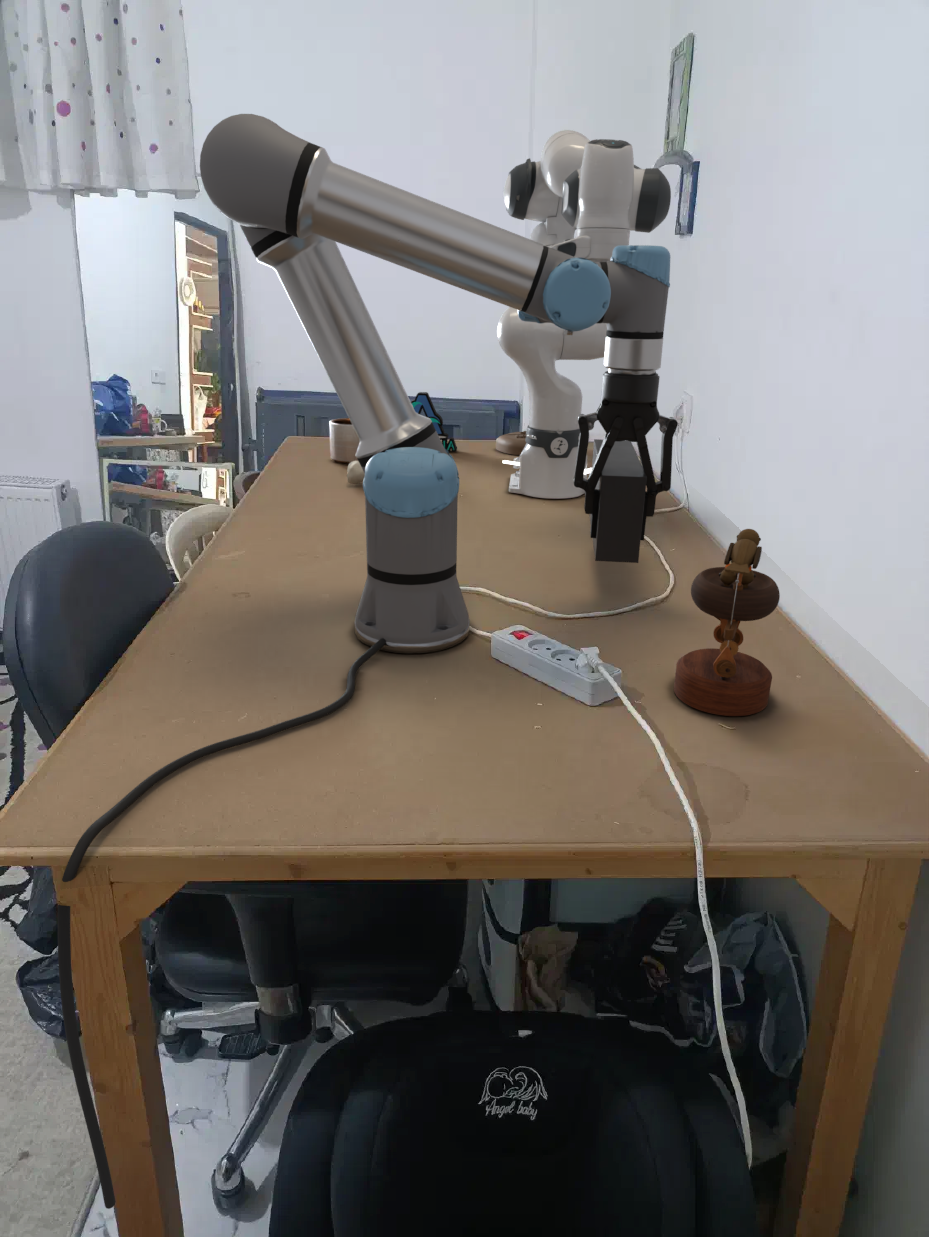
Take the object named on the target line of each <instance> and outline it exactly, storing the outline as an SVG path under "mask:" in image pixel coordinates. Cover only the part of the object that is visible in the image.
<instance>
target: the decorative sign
mask: <svg viewBox="0 0 929 1237" xmlns="http://www.w3.org/2000/svg"><path fill="white" fill-rule="evenodd" d="M410 402H411V404H412V406H413V408H414V410H415V412H416V413H418V414H420V415H422V414H421V413H422V411H423V413H424V416H425V417H428V418H430V419H431V421H432V423H433V425H434V427H435V429H436V432H437V434H438V436H439V438H440V440H441V442H442V444H443V446H444V448H445V449H446V450H448V452H449V453H450V452H453V453H455V452H457V450H458V446H457V444H456V440H455V438H454V437H453V436H452V437H449V434H448V433H447V432H445V430H444V427H443V424H444V419H443V417H442V416H441V415H440V414H439V413H438V412H437V411H436V408H435V406H434V404H433V401H432V399H431V397H430V394H429V392H427V391H419V392H417V393H416V395H415V398H414V399H412V400H410ZM448 438H449V439H448Z"/></svg>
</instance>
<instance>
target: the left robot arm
mask: <svg viewBox="0 0 929 1237" xmlns="http://www.w3.org/2000/svg"><path fill="white" fill-rule="evenodd" d="M199 156H200V157H199V159H200V160H199V172H200V178H201V181H202V185H203V189H204V190H205V193H206V195H207V196H208V198H209V199H210V201H211V203H212V204H213V206H214V207H215V209H216V210H218V211H219V212H220V213H221V214H222V215H223V216H224V217H226V218H227V219H228V220H230V221H232V222H234V223H236V224H238V226H239V228H240V230H241V232H242V234H243V236H244V237H245V240H246V242H247V244H248V246H249V248H250V249H251V251H252V254H253V255H254V257H255V260H256V261H257V263H260V264H262V265H264V266H267V267H269V268H272V269H273V270H274V271H275V273H276V275H277V277H278V279H279V281H280V283H281V285H282V287H283V289H284V290H285V293H286V295H287V297H288V299H289V301H290V303H291V304H292V306H293V309H294V310H295V312H296V315H297V317H298V319H299V320H300V323H301V325H302V327H303V329H304V331H305V333H306V335H307V337H308V339H309V341H310V343H311V345H312V347H313V349H314V351H315V353H316V355H317V357H318V359H319V361H320V363H321V365H322V367H323V369H324V371H325V373H326V375H327V377H328V379H329V381H330V383H331V384H332V387H333V389H334V392H335V393H336V394H337V397H338V399H339V401H340V404H341V405H342V407H343V409H344V411H345V413H346V416H347V418H349V419H350V421H351V423H352V425H353V427H354V429H355V431H356V433H357V435H358V437H359V446H358V449H357V453H356V457H357V459H358V461H359V463H360V465H361V467H362V469H363V471H364V473H365V477H364V480H363V482H362V490H363V493H364V502H365V504H364V505H365V507H364V509H365V541H366V542H365V543H366V544H365V545H366V547H365V548H366V579H365V584H364V586H363V589H362V592H361V596H360V600H359V602H358V606H357V609H356V612H355V618H354V633H355V636H356V638H357V639H358V640H359V641H360V642H362V643H363V644H365V645H367V646H368V647H370V648H368V649H367V650H366V651H364V653H363V654H361V655H360V656H359V657H358V658H356V660H355V661H354V662H353V663H352V664H351V666H350V667H349V670H348V672H347V677H346V689H345V692H344V693H343V694H342V695H341V696H340V697H339V698H338V699H337V700H335V701H333V702H332V703H330V704H329V705H327V706H324V707H322V708H320V709H318V710H315V711H312V712H309V713H306V714H303V715H300V716H297V717H294V718H291V719H287V720H284V721H281V722H279V723H276V724H273V725H270V726H268V727H264V728H262V729H261V728H260V729H259V730H255V731H252V732H249V733H245V734H242V735H238V736H233V737H231V738H228V739H224V740H220V741H217V742H215V743H212V744H208V745H206V746H203V747H201V748H198V749H196V750H194V751H190V752H189V753H187V754H184V755H183V756H180V757H179V758H177V759H174V760H173V761H172V762H170V763H167V764H166V765H165V766H163V767H161V768H160V769H158V770H157V771H155V772H154V773H152V774H151V775H149V776H147V777H146V778H145V779H144V780H143V781H141V782H140V783H139V784H137V785H136V787H134V788H133V789H132V790H130V791H129V792H128V793H127V794H125V796H123V798H121V799H120V800H119V801H118V802H117V803H116V804H114V806H112V807H111V808H110V809H109V810H107V811H106V812H105V813H103V814H102V815H101V816H99V817H98V818H97V819H96V820H95V821H94V822H92V823H91V825H89V826H88V828H87V829H86V830H85V831H84V833H83V834H82V835H81V837H80V838H79V840H78V841H77V843H76V844H75V847H74V848H73V850H72V853H71V854H70V857H69V859H68V861H67V864H66V866H65V869H64V871H63V875H62V877H61V881H62V882H63V883H69V882H71V881H73V880H75V878H76V876H77V873H78V871H79V868H80V866H81V863H82V861H83V860H84V858H85V855H86V853H87V851H88V849H89V847H90V846H91V844H92V842H93V841H94V840H95V838H96V837H97V836H98V835H99V834H100V833H101V831H103V830H104V829H105V828H106V827H107V826H108V825H110V824H111V823H112V822H114V821H115V820H116V819H117V818H118V817H119V816H120V815H122V814H123V813H124V812H126V810H127V809H128V808H130V807H131V806H132V805H133V804H134V803H135V802H136V801H137V800H138V799H139V798H141V797H142V796H143V795H145V793H147V791H149V790H150V789H151V788H153V787H154V786H155V785H157V784H158V783H159V782H161V781H163V779H165V778H166V777H168V776H170V775H171V774H173V773H175V772H176V771H178V770H180V769H181V768H184V767H185V766H187V765H189V764H191V763H193V762H195V761H198V760H200V759H202V758H205V757H208V756H210V755H213V754H216V753H218V752H222V751H225V750H228V749H231V748H234V747H238V746H242V745H246V744H248V743H251V742H255V741H259V740H262V739H264V738H267V737H271V736H273V735H276V734H278V733H282V732H285V731H287V730H290V729H294V728H296V727H300V726H302V725H305V724H309V723H311V722H314V721H318V720H320V719H322V718H324V717H326V716H329V715H330V714H333V713H335V712H336V711H338V710H340V709H341V708H342V707H344V706H345V705H346V704H347V703H348V702H349V701H350V700H351V699H352V698H353V695H354V692H355V690H356V676H357V673H358V671H359V669H360V668H361V667H362V666H363V665H364V664H365V663H366V662H368V660H370V659H371V658H372V657H374V655H376V654H377V653H378V652H379V651H384V652H390V653H396V654H397V653H398V654H425V653H433V652H439V651H443V650H446V649H449V648H452V647H455V646H457V645H458V644H460V643H462V642H463V641H464V640H466V639H467V637H468V636H469V634H470V616H469V612H468V608H467V606H466V601H465V599H464V596H463V593H462V589H461V586H460V583H459V581H458V577H457V561H458V560H457V559H458V558H457V557H458V556H457V554H458V495H459V491H460V477H459V474H460V473H459V469H458V466H457V464H456V461H455V459H454V458H453V456H452V454H450V451H449V452H448V450H446V449H445V448H444V446H443V444H442V440H440V438H439V436H438V434H437V432H436V429H435V427H434V425H433V423H432V421H431V419H430V418H428V417H425V415H422V414H418V413H416V412H415V410H414V408H413V406H412V404H411V399H410V398H409V396H408V393H407V391H406V389H405V386H404V384H403V382H402V380H401V378H400V376H399V374H398V372H397V370H396V368H395V366H394V363H393V362H392V359H391V357H390V355H389V352H388V351H387V349H386V346H385V344H384V342H383V340H382V337H381V336H380V333H379V331H378V329H377V328H376V324H375V323H374V320H373V319H372V317H371V314H370V312H369V310H368V308H367V306H366V304H365V301H364V300H363V297H362V294H361V292H360V291H359V289H358V287H357V286H358V285H357V284H356V282H355V280H354V277H353V276H352V274H351V271H350V270H349V267H348V265H347V263H346V260H345V258H344V257H343V255H342V252H341V250H340V248H339V247H338V244H341V245H344V246H346V247H349V248H351V249H355V250H357V251H359V252H362V253H365V254H367V255H371V256H373V257H376V258H378V259H381V260H383V261H386V262H388V263H392V264H394V265H397V266H399V267H402V268H405V269H408V270H410V271H413V272H416V273H418V274H421V275H424V276H427V277H429V278H432V279H435V280H437V281H440V282H442V283H445V284H448V285H451V286H453V287H456V288H458V289H461V290H464V291H467V292H469V293H472V294H475V295H478V296H480V297H482V298H485V299H488V300H490V301H492V302H493V301H494V302H495V303H498V304H501V305H504V306H506V307H512V308H514V309H517V312H518V316H519V318H520V319H521V320H522V321H526V322H537V323H540V324H542V323H553V324H555V325H556V326H558V327H560V328H562V329H565V330H568V331H581V330H583V329H586V328H589V327H591V326H593V325H594V324H596V323H607V331H606V344H605V356H604V357H603V366H604V367H605V369H607V370H606V371H604V373H603V374H602V383H601V384H602V385H601V395H600V403H599V406H598V407H597V410H596V411H595V412H592V413H587V414H584V413H581V414H580V415H579V416H578V424H579V428H580V436H579V444H578V451H577V458H576V465H575V472H574V486H575V487H577V488H581V489H583V490H584V491H585V493H584V504H583V506H584V507H583V510H584V513H585V515H589V514H592V515H591V524H590V527H589V528H590V531H589V535H590V539H592V538H596V532H597V519H598V507H599V495H600V494H599V489H595V488H596V485H597V483H598V481H599V478H600V476H601V472H602V471H603V468H604V466H605V464H606V461H607V459H608V456H609V454H610V451H611V449H612V447H613V445H614V443H615V441H625V440H627V441H630V442H631V443H636V447H637V451H638V455H639V461H640V463H641V465H642V469H643V471H644V473H645V474H646V477H647V481H646V491H645V501H644V511H643V521H642V530H641V540H640V541H642V542H643V541H645V535H646V534H645V533H646V525H647V523H646V522H647V517H651V518H653V517H654V515H655V512H656V511H655V510H656V501H657V495H658V494H660V493H662V492H668V491H670V490H671V488H672V469H673V468H672V466H673V442H674V435H675V433H676V430H677V428H678V425H679V423H678V422H679V421H678V420H677V419H676V418H675V417H673V416H666V415H663V414H660V412H659V409H658V396H659V387H660V375H659V373H658V372H657V371H658V370H659V369H661V366H662V356H663V348H664V346H663V345H664V335H665V334H664V333H665V324H666V314H667V305H668V298H669V291H670V290H669V288H671V283H670V281H671V280H670V277H671V276H670V275H671V252H670V251H669V249H668V248H667V247H665V246H662V245H649V244H647V245H646V244H645V245H643V244H642V245H641V244H640V245H639V244H638V245H637V244H636V245H631V244H629V245H620V246H616V247H615V248H614V249H613V253H612V257H611V259H610V261H605V262H592V261H590V260H588V259H585V258H582V257H581V258H576V257H573V256H571V255H568V254H566V253H563V252H561V251H558V250H556V249H553V248H549V247H546V246H544V245H543V244H540V243H538V242H535V241H533V240H530V239H529V238H527V237H526V236H523V235H520V234H518V233H515V232H513V231H510V230H507V229H505V228H503V227H502V228H501V227H500V226H497V225H494V224H492V223H489V222H486V221H484V220H481V219H479V218H476V217H474V216H471V215H469V214H466V213H464V212H461V211H458V210H456V209H453V208H450V207H448V206H445V205H444V204H441V203H438V202H435V201H433V200H430V199H427V198H425V197H422V196H421V195H417V194H414V193H412V192H411V191H410V192H409V191H407V190H404V189H402V188H399V187H397V186H394V185H392V184H389V183H387V182H384V181H382V180H379V179H376V178H374V177H371V176H369V175H366V174H364V173H361V172H358V171H356V170H353V169H351V168H348V167H346V166H343V165H340V164H338V163H336V162H333V161H332V159H331V158H330V156H329V154H328V151H327V149H326V148H324V147H322V146H319V145H317V144H315V143H313V142H310V141H308V140H305V139H303V138H301V137H299V136H297V135H295V134H293V133H291V132H289V131H288V130H286V129H284V128H283V127H281V126H280V125H279V124H277V123H276V122H275V121H273V120H271V119H270V118H267V117H264V116H263V115H258V114H253V113H239V114H233V115H230V116H228V117H226V118H224V119H222V120H221V121H220V122H218V123H216V124H215V125H214V126H213V127H212V129H211V130H210V131H209V132H208V133H207V135H206V137H205V139H204V141H203V144H202V147H201V151H200V155H199ZM597 421H598V423H599V424H600V426H601V427H602V428H603V430H604V432H605V434H604V437H603V439H602V440H603V443H602V445H601V448H600V450H599V453H598V455H597V458H596V460H595V462H594V465H593V467H592V466H591V468H592V470H591V472H590V473H589V475H588V476H587V479H584V478H583V476H584V469H585V462H586V455H587V456H588V449H589V448H588V447H589V441H590V431H592V430H593V429H594V428H595V423H596V422H597ZM656 424H658V430H659V431H660V433H661V443H660V444H661V446H660V472H659V473H660V474H659V481H656V478H655V475H654V470H653V465H652V464H653V463H652V460H651V456H650V455H651V454H650V452H649V445H648V441H647V437H646V436H647V435H648V433H649V432H650V431H651V430H652V428H653V427H654V426H655V425H656ZM56 914H57V959H58V960H57V961H58V977H59V978H58V979H59V994H60V1002H61V1011H62V1019H63V1026H64V1031H65V1037H66V1043H67V1044H66V1045H67V1048H68V1055H69V1060H70V1063H71V1064H70V1065H71V1068H72V1073H73V1078H74V1082H75V1086H76V1091H77V1093H78V1094H77V1095H78V1098H79V1102H80V1106H81V1109H82V1113H83V1117H84V1120H85V1124H86V1129H87V1133H88V1136H89V1137H88V1138H89V1140H90V1145H91V1149H92V1152H93V1157H94V1160H95V1165H96V1169H97V1173H98V1178H99V1183H100V1188H101V1193H102V1199H103V1204H104V1208H106V1209H108V1210H110V1209H112V1208H114V1206H115V1205H116V1203H117V1202H116V1198H115V1197H116V1196H115V1193H114V1192H115V1190H114V1186H113V1180H112V1175H111V1171H110V1166H109V1161H108V1158H107V1157H108V1156H107V1153H106V1148H105V1143H104V1141H103V1136H102V1132H101V1127H100V1124H99V1120H98V1114H97V1112H96V1108H95V1104H94V1101H93V1097H92V1092H91V1087H90V1083H89V1079H88V1074H87V1070H86V1066H85V1062H84V1057H83V1051H82V1047H81V1041H80V1034H79V1028H78V1021H77V1016H76V1006H75V997H74V987H73V986H74V985H73V971H72V945H71V944H72V943H71V942H72V939H71V905H63V904H57V912H56Z"/></svg>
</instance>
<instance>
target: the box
mask: <svg viewBox="0 0 929 1237" xmlns="http://www.w3.org/2000/svg"><path fill="white" fill-rule="evenodd" d="M602 443H603V439H599V438H597V439H595V438H594V439H593V447H592V448H593V450H592V463H591V468H592V467H593V465H594V462H595V460H596V458H597V455H598V453H599V450H600V448H601V445H602ZM646 481H647V477H646V474H645V473H644V471H643V469H642V464H641V460H640V457H639V456H638V454H637V452H636V449H635V447H634V445H633V442H630V441H627V440H625V441H615V443H614V445H613V447H612V449H611V451H610V454H609V456H608V459H607V461H606V464H605V466H604V468H603V471H602V472H601V476H600V478H599V481H598V483H597V485H596V488H595V489H599V494H600V495H599V507H598V519H597V532H596V538H591V539H592V545H593V553H594V560H595V562H610V563H611V562H612V563H629V564H638V563H639V559H640V549H641V541H642V540H641V530H642V521H643V511H644V501H645V491H647V486H646ZM591 515H592V514H588V516H589V517H588V518H589V523H590V525H591Z"/></svg>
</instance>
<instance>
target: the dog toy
mask: <svg viewBox="0 0 929 1237" xmlns="http://www.w3.org/2000/svg"><path fill="white" fill-rule="evenodd" d="M346 469H347V470H346V472H347V474H346V478H347V483H348V484H352V485H359V484H362V483H363V480H364V477H365V473H364V471H363V469H362V467H361V465H360V463H359V461H353V462H351V463H348V465H347V468H346Z"/></svg>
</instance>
